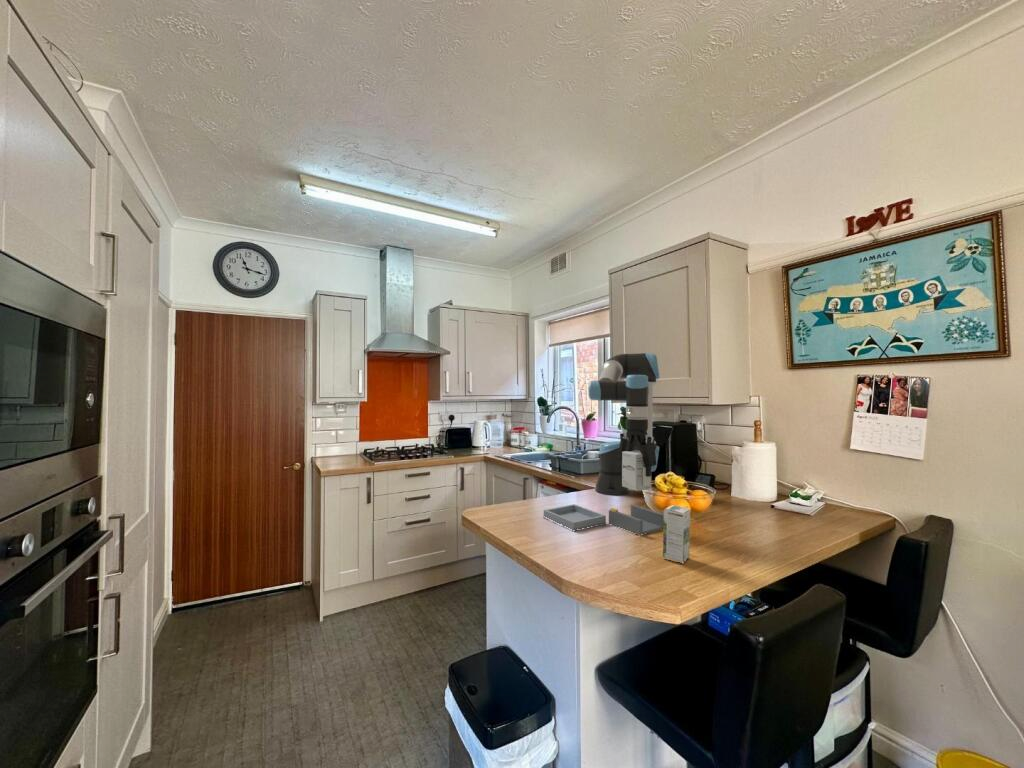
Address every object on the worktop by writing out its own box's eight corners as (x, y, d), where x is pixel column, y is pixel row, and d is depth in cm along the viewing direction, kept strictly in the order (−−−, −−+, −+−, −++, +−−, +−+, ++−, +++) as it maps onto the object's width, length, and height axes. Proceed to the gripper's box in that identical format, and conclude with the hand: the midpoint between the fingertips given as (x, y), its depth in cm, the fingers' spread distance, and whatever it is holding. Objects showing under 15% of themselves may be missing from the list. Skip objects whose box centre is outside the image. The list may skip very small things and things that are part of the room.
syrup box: (669, 553, 123) (669, 504, 123) (690, 558, 119) (690, 508, 119) (662, 559, 118) (662, 508, 118) (684, 565, 115) (684, 512, 115)
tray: (574, 511, 163) (574, 504, 163) (605, 524, 149) (605, 515, 149) (543, 518, 155) (543, 510, 155) (573, 531, 141) (573, 522, 141)
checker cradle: (633, 518, 156) (633, 502, 156) (665, 528, 144) (665, 512, 144) (608, 523, 149) (608, 507, 149) (639, 535, 137) (639, 518, 137)
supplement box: (621, 486, 148) (621, 451, 148) (637, 484, 151) (637, 450, 151) (635, 491, 141) (635, 454, 141) (652, 489, 144) (652, 452, 145)
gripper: (608, 416, 153) (607, 478, 153) (653, 420, 136) (653, 490, 136) (622, 416, 157) (622, 476, 157) (668, 420, 140) (668, 487, 140)
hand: (636, 483), depth 146 cm, fingers closed on supplement box, 8 cm apart
